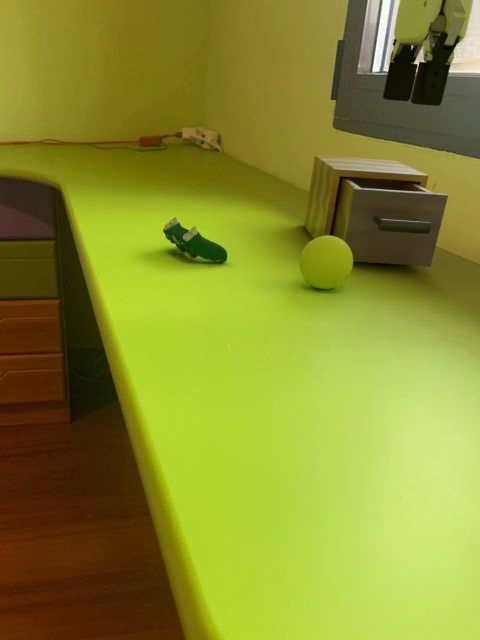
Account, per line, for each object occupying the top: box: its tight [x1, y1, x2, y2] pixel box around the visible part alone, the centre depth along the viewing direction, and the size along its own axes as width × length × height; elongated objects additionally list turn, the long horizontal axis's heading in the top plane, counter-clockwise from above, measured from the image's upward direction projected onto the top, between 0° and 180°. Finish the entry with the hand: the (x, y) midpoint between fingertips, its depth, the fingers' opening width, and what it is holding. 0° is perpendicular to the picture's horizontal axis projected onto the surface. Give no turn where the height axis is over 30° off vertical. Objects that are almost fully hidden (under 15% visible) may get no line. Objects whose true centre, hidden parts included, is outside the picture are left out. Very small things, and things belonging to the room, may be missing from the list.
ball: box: [298, 235, 354, 290], centre depth 79 cm, size 6×6×6 cm
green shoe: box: [162, 216, 228, 263], centre depth 89 cm, size 9×4×6 cm
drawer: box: [330, 176, 449, 267], centre depth 91 cm, size 19×12×9 cm, turn 178°
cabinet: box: [303, 154, 429, 239], centre depth 103 cm, size 16×13×11 cm
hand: (409, 102), depth 79 cm, fingers open, 9 cm apart
